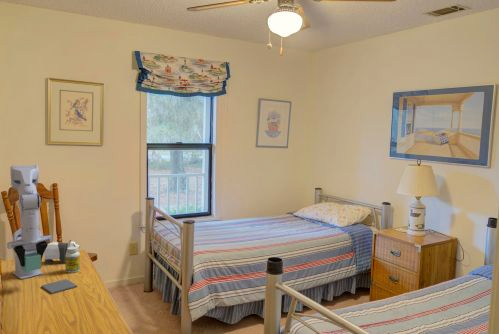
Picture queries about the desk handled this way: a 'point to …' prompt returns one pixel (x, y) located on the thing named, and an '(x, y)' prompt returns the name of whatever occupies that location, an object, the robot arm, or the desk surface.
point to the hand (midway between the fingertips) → (30, 264)
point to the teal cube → (32, 262)
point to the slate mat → (59, 286)
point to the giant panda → (57, 251)
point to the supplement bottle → (72, 260)
